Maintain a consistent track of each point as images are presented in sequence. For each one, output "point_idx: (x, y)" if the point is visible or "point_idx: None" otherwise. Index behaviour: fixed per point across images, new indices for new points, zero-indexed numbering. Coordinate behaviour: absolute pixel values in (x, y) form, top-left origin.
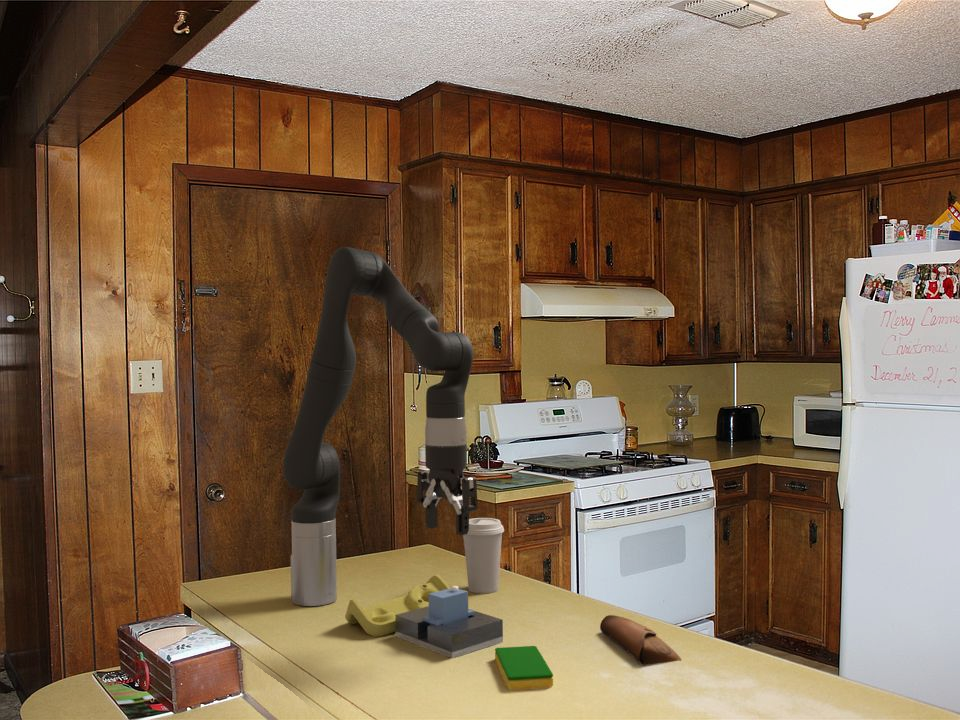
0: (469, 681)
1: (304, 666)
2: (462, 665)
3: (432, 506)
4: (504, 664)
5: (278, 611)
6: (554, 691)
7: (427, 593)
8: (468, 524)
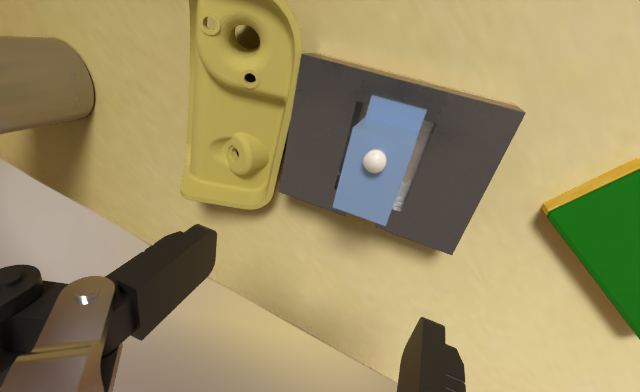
0: (535, 309)
1: (280, 314)
2: (487, 253)
3: (126, 320)
4: (609, 292)
5: (85, 154)
6: None
7: (230, 29)
8: (462, 390)
